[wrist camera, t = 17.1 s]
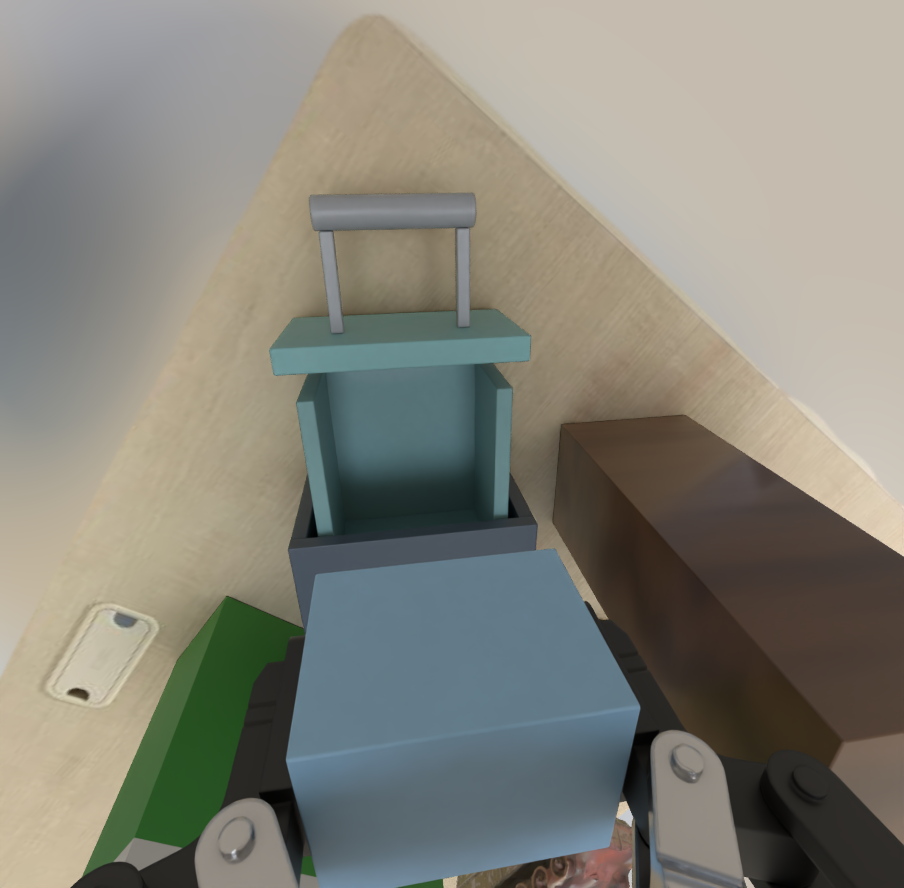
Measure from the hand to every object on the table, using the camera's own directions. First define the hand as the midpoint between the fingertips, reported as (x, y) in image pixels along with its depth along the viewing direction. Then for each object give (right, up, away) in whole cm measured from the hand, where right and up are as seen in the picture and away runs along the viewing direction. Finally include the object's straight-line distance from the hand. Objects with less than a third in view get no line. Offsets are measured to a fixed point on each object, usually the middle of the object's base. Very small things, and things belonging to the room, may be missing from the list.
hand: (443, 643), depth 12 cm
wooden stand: (+12, +3, +23) cm, 26 cm away
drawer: (-3, +9, +16) cm, 19 cm away
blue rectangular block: (0, 0, +1) cm, 1 cm away
